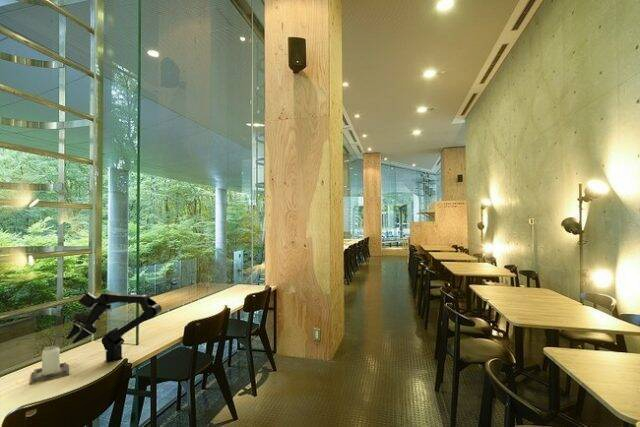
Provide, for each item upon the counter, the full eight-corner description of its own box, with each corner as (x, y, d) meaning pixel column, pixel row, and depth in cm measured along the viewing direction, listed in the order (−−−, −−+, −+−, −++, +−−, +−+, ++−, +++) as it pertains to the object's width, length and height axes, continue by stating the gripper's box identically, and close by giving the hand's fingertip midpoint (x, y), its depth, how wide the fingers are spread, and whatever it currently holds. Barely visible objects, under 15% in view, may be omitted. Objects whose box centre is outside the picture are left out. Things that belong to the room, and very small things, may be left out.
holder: (68, 364, 164) (68, 361, 164) (69, 374, 153) (69, 370, 153) (31, 373, 155) (31, 369, 155) (29, 384, 144) (29, 380, 144)
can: (58, 368, 159) (58, 344, 159) (60, 372, 154) (61, 347, 155) (40, 373, 154) (40, 348, 154) (43, 377, 149) (43, 351, 150)
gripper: (76, 302, 170) (49, 329, 161) (89, 307, 159) (61, 337, 150) (93, 313, 176) (69, 340, 167) (107, 319, 165) (81, 348, 156)
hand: (69, 341), depth 160 cm, fingers open, 9 cm apart
